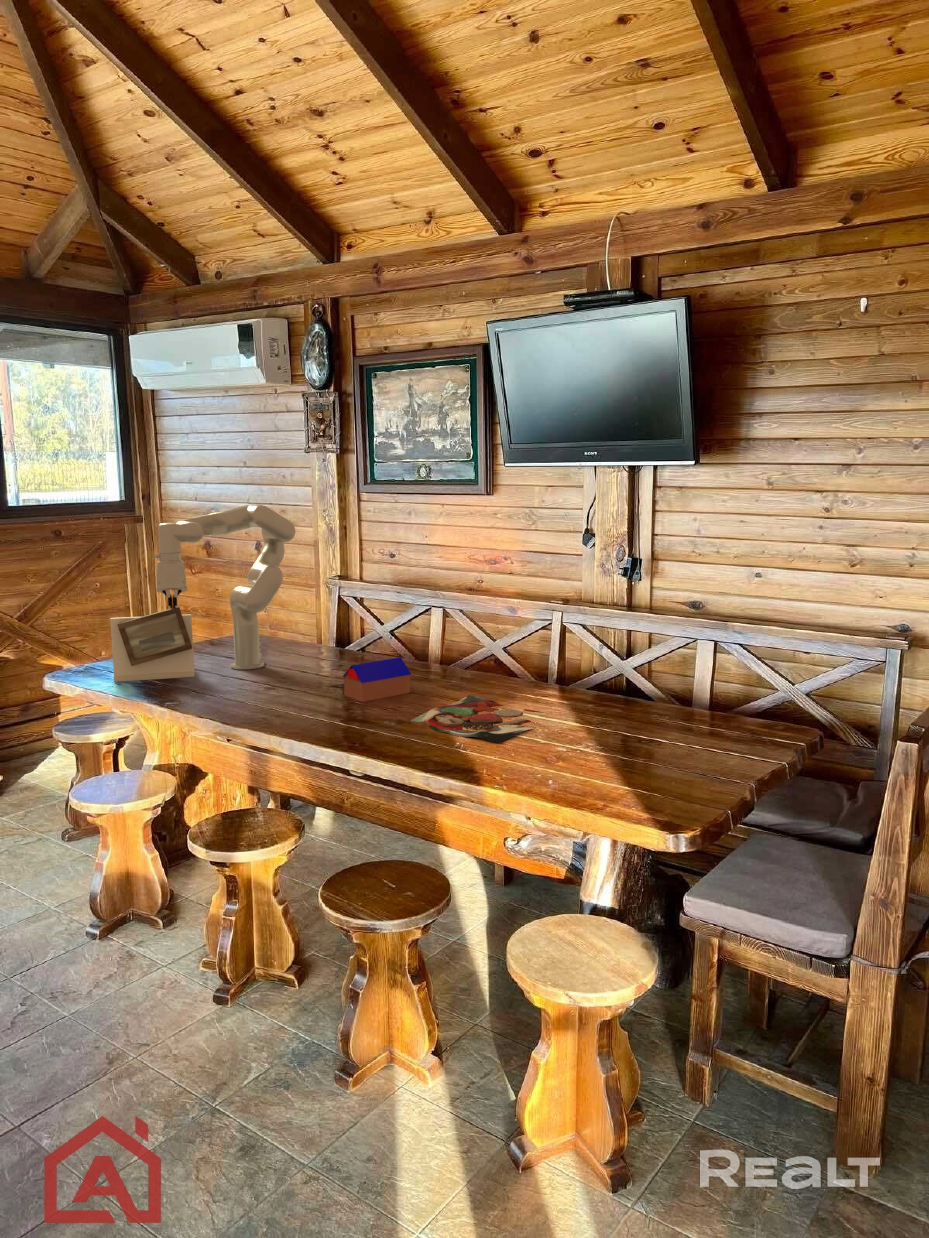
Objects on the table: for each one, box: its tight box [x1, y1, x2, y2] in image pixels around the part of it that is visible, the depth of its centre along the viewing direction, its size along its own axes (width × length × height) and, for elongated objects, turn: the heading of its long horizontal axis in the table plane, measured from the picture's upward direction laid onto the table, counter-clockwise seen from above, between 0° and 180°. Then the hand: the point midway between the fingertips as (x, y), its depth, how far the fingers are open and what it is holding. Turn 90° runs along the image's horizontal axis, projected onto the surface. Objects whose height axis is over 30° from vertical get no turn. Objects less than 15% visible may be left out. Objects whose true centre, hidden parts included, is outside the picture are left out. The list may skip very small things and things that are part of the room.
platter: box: [410, 694, 545, 744], centre depth 278 cm, size 36×36×2 cm
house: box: [342, 656, 412, 703], centre depth 310 cm, size 12×20×12 cm, turn 129°
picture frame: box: [117, 605, 192, 666], centre depth 331 cm, size 2×22×16 cm, turn 106°
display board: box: [109, 613, 196, 683], centre depth 336 cm, size 8×28×23 cm, turn 106°
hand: (172, 607), depth 331 cm, fingers closed
